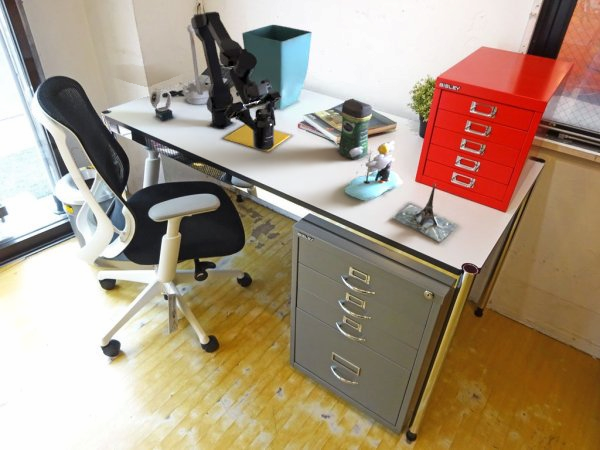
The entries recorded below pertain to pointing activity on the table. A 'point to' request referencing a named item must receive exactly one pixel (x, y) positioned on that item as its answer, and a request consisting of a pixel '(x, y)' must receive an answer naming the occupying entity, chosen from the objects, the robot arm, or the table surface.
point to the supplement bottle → (263, 130)
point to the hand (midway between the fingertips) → (265, 128)
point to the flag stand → (200, 90)
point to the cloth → (246, 137)
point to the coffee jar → (354, 127)
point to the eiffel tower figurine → (426, 220)
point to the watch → (161, 112)
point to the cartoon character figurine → (374, 175)
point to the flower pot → (280, 59)
